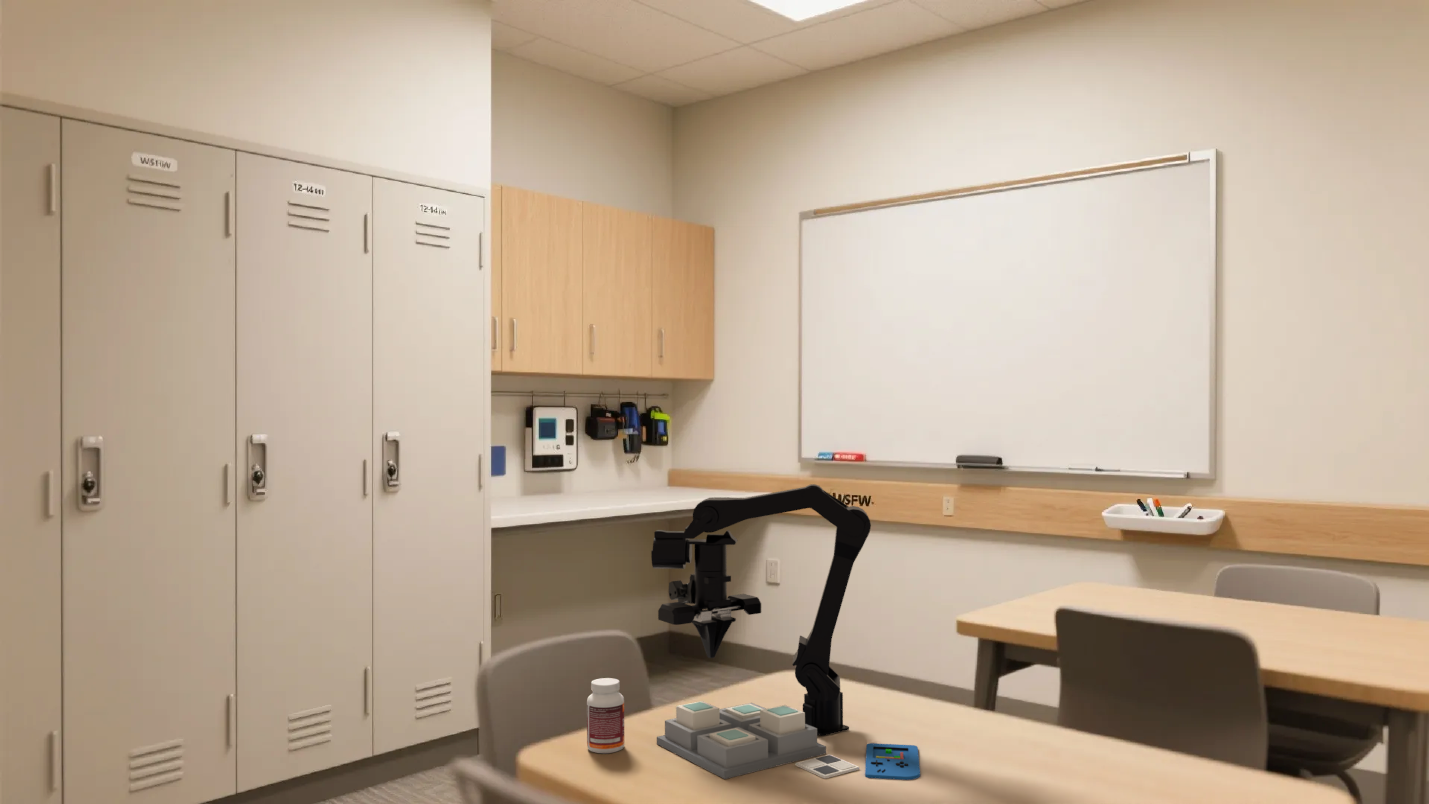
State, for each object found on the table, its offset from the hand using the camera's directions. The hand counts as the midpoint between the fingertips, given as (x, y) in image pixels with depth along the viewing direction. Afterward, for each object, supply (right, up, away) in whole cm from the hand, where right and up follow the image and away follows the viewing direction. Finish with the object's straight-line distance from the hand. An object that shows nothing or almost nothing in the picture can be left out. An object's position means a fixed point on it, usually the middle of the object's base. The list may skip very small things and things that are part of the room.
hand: (710, 657), depth 178 cm
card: (+18, -12, -22) cm, 31 cm away
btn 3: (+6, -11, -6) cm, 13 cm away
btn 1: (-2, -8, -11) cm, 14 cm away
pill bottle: (-17, -12, -12) cm, 24 cm away
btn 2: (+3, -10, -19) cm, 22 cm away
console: (+5, -12, -12) cm, 18 cm away
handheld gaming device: (+29, -12, -19) cm, 37 cm away
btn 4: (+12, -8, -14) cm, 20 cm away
